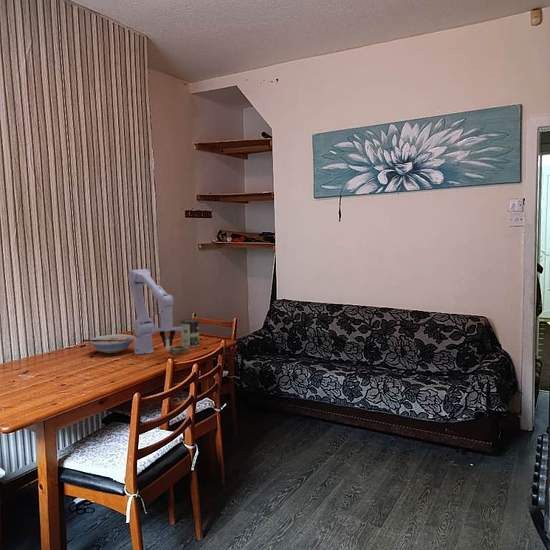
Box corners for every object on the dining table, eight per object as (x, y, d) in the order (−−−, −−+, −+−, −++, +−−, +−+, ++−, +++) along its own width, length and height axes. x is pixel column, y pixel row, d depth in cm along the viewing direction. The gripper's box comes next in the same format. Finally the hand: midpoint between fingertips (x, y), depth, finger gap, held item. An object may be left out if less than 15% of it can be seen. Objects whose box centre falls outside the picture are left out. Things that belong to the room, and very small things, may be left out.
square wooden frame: (174, 355, 252) (174, 349, 251) (169, 352, 259) (169, 346, 258) (189, 353, 256) (188, 347, 255) (183, 350, 263) (183, 344, 262)
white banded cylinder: (165, 350, 246) (164, 336, 245) (165, 349, 249) (164, 335, 248) (170, 350, 247) (170, 336, 246) (170, 349, 249) (169, 335, 249)
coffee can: (199, 343, 279) (199, 318, 278) (198, 347, 269) (198, 322, 267) (181, 343, 278) (181, 318, 277) (179, 347, 268) (179, 322, 266)
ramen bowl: (143, 347, 272) (142, 332, 271) (126, 357, 249) (125, 342, 249) (100, 347, 274) (99, 332, 274) (79, 357, 252) (78, 341, 251)
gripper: (152, 321, 241) (153, 348, 242) (182, 319, 244) (182, 346, 246) (151, 319, 247) (152, 345, 249) (180, 317, 251) (181, 343, 252)
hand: (167, 346), depth 247 cm, fingers closed on white banded cylinder, 2 cm apart
